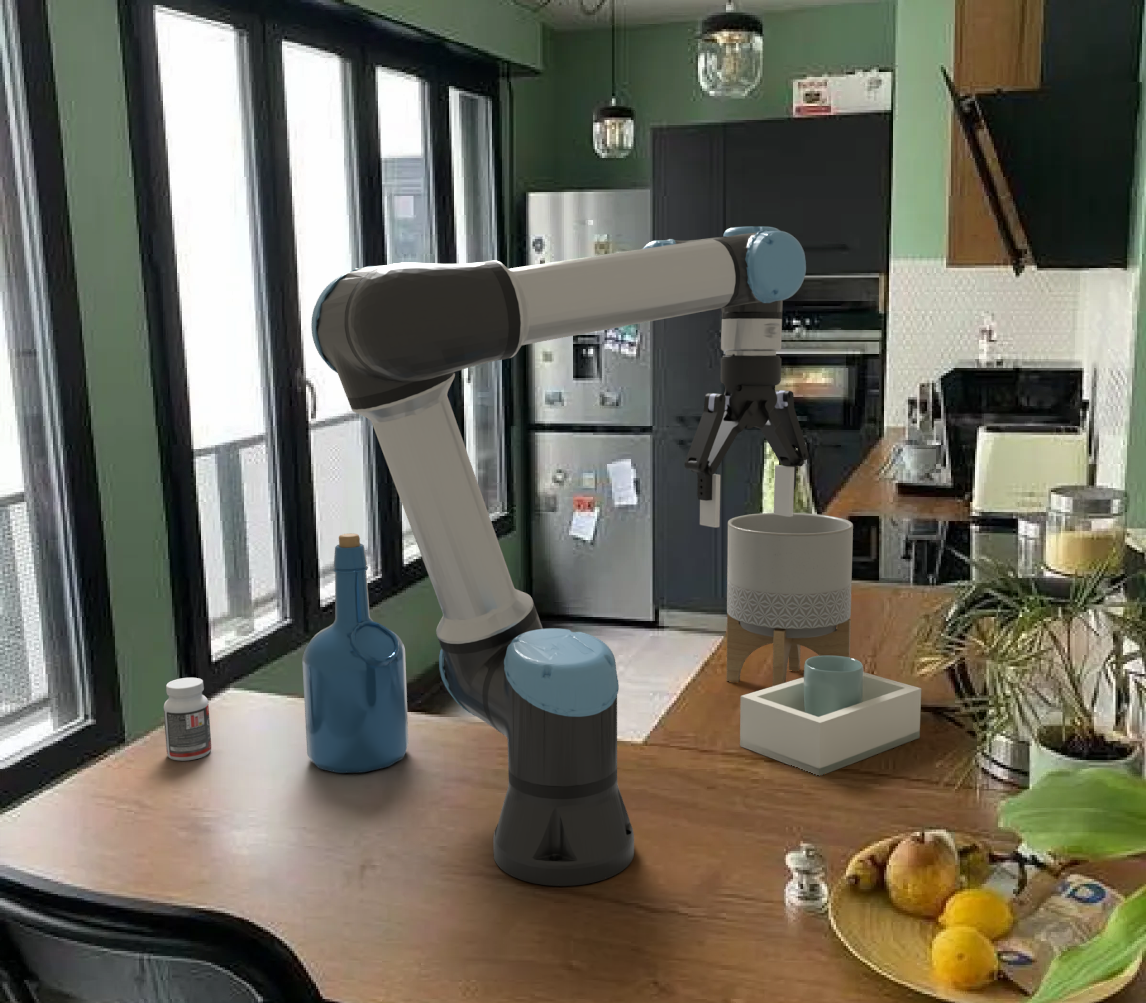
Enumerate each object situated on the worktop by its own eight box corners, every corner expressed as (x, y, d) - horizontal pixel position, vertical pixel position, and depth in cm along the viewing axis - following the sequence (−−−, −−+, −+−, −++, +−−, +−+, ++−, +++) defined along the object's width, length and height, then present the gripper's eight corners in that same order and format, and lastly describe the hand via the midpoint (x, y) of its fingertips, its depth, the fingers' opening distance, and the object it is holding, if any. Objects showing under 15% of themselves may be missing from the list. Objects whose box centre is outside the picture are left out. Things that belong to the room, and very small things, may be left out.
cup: (862, 747, 149) (865, 673, 148) (802, 743, 151) (804, 670, 149) (860, 726, 157) (862, 656, 155) (802, 723, 158) (804, 653, 157)
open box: (818, 776, 142) (820, 722, 141) (740, 746, 153) (740, 696, 152) (919, 737, 155) (921, 688, 154) (840, 712, 165) (841, 665, 164)
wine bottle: (287, 759, 150) (275, 536, 145) (368, 732, 159) (360, 522, 155) (349, 786, 141) (338, 549, 136) (431, 756, 150) (424, 533, 146)
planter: (842, 710, 166) (846, 536, 162) (715, 698, 172) (716, 530, 168) (853, 673, 184) (858, 515, 180) (738, 663, 190) (740, 510, 186)
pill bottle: (219, 753, 152) (215, 682, 151) (180, 765, 148) (175, 692, 147) (198, 743, 156) (193, 673, 155) (159, 754, 152) (154, 683, 151)
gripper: (700, 355, 132) (697, 535, 135) (839, 352, 147) (833, 514, 150) (657, 354, 138) (655, 526, 141) (794, 352, 153) (790, 507, 156)
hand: (747, 520), depth 146 cm, fingers open, 13 cm apart
